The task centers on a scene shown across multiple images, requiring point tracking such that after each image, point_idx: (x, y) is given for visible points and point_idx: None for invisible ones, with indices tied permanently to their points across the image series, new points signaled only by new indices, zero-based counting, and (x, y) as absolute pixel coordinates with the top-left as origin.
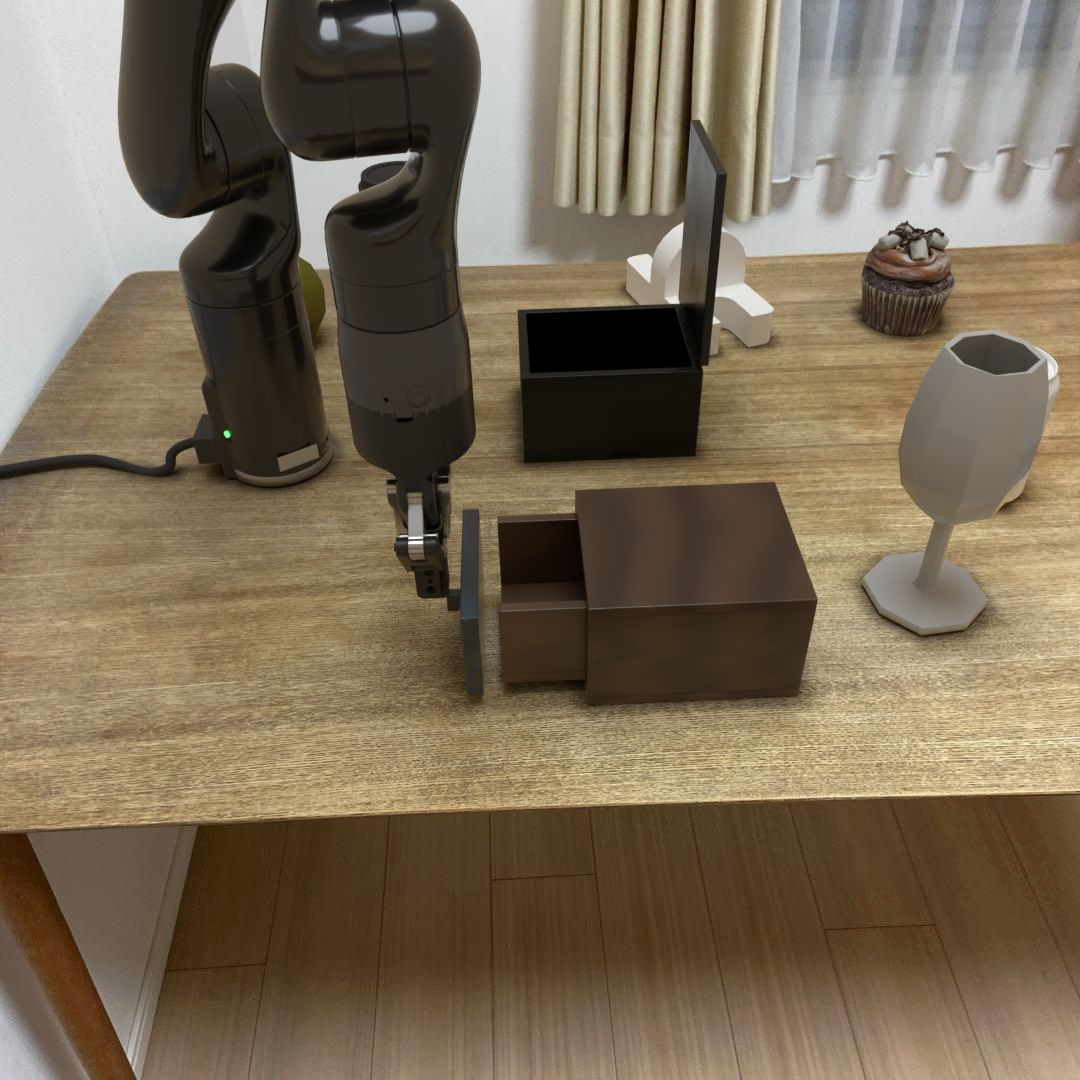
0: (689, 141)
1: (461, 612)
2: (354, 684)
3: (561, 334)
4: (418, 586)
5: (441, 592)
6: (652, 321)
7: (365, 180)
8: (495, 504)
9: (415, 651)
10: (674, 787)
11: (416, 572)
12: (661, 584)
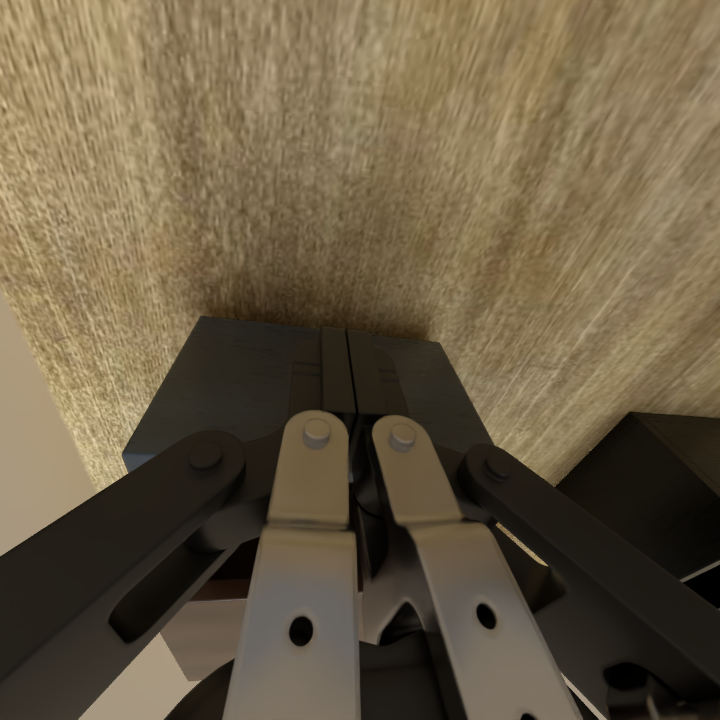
0: None
1: (144, 458)
2: (261, 97)
3: None
4: (321, 346)
5: (290, 388)
6: (704, 587)
7: None
8: (583, 377)
9: (332, 238)
10: (97, 469)
11: (322, 376)
12: (208, 637)
